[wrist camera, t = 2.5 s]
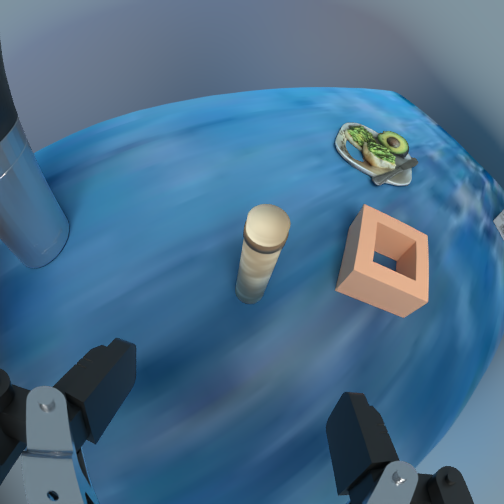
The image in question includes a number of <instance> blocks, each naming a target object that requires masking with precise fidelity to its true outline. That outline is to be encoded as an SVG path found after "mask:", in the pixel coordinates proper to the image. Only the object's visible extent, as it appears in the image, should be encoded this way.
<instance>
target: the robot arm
mask: <svg viewBox="0 0 504 504" xmlns="http://www.w3.org/2000/svg"><path fill="white" fill-rule="evenodd" d="M68 234H69V222H68V220H67V218H66V216H65V214H64V213H63V211H62V209H61V207H60V206H59V204H58V202H57V200H56V198H55V196H54V194H53V193H52V191H51V189H50V187H49V185H48V183H47V181H46V179H45V177H44V175H43V173H42V171H41V169H40V167H39V165H38V163H37V160H36V158H35V156H34V154H33V152H32V149H31V147H30V145H29V142H28V140H27V138H26V135H25V133H24V130H23V128H22V125H21V123H20V120H19V117H18V114H17V111H16V109H15V106H14V103H13V100H12V96H11V92H10V89H9V85H8V81H7V78H6V74H5V69H4V64H3V58H2V51H1V43H0V239H1V240H2V241H3V242H4V243H5V244H6V246H7V247H8V248H9V249H10V250H11V251H12V252H13V253H14V255H15V256H16V257H17V258H18V259H19V260H20V261H21V262H22V263H23V264H24V265H25V266H27V267H29V268H39V267H42V266H44V265H46V264H48V263H49V262H51V261H52V260H53V259H54V258H55V257H56V256H57V255H58V254H59V253H60V251H61V250H62V248H63V247H64V245H65V243H66V241H67V238H68ZM135 379H136V345H135V344H133V343H130V342H128V341H125V340H122V339H120V338H115V339H114V340H113V341H112V342H111V343H110V344H109V345H108V346H107V347H106V346H104V345H100V346H98V347H96V348H93V349H91V350H90V351H89V352H88V353H87V354H86V355H85V356H84V357H83V359H82V358H81V359H80V360H79V361H78V362H77V365H76V364H75V365H74V366H73V367H72V368H71V369H70V370H69V371H68V372H67V373H66V374H65V375H64V376H63V377H62V378H61V379H60V380H59V381H58V382H57V383H56V384H55V385H54V386H53V387H50V386H40V387H36V388H34V389H33V390H31V391H30V390H27V389H24V388H21V387H18V386H16V385H13V384H11V381H10V378H9V376H8V374H7V373H6V372H5V371H4V370H2V369H0V485H1V484H2V482H3V480H4V479H5V477H6V476H7V474H8V473H9V471H10V469H11V468H12V466H13V465H14V463H15V462H16V460H17V459H18V457H19V456H20V455H21V462H22V472H23V480H24V487H25V493H26V498H27V503H28V504H100V503H99V501H98V498H97V496H96V494H95V492H94V489H93V486H92V483H91V479H90V476H89V473H88V469H87V465H86V461H85V457H84V453H83V449H82V445H83V444H84V442H85V441H86V440H88V441H90V442H92V443H94V444H96V443H97V442H98V440H99V439H100V437H101V435H102V434H103V432H104V431H105V429H106V428H107V426H108V424H109V423H110V421H111V420H112V418H113V417H114V415H115V414H116V412H117V410H118V409H119V407H120V406H121V404H122V403H123V401H124V400H125V398H126V397H127V395H128V394H129V392H130V391H131V389H132V387H133V385H134V382H135ZM387 432H388V431H387V429H386V426H384V422H383V419H382V417H381V415H380V414H379V412H378V411H377V410H376V409H375V408H374V407H373V406H369V404H368V402H367V399H366V397H365V395H364V394H363V393H352V392H345V393H343V394H342V396H341V398H340V399H339V401H338V403H337V405H336V406H335V408H334V410H333V411H332V413H331V415H330V416H329V418H328V421H327V425H326V433H327V438H328V443H329V449H330V454H331V459H332V465H333V470H334V476H335V481H336V487H337V493H338V496H339V495H349V496H350V500H349V501H348V502H347V503H346V504H474V503H473V500H472V497H471V495H470V492H469V490H468V488H467V485H466V483H465V481H464V479H463V476H462V474H461V473H460V472H459V471H458V470H457V469H456V468H454V467H451V466H445V467H442V468H441V469H439V470H438V471H437V472H436V473H435V474H434V475H430V474H418V473H417V471H416V469H415V468H414V467H413V466H412V465H410V464H409V463H407V462H404V461H400V460H399V458H398V456H397V453H396V451H395V448H394V446H393V443H392V441H391V438H390V436H389V434H388V433H387ZM26 446H27V451H23V450H24V449H25V447H26ZM21 453H22V454H21Z"/></svg>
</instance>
